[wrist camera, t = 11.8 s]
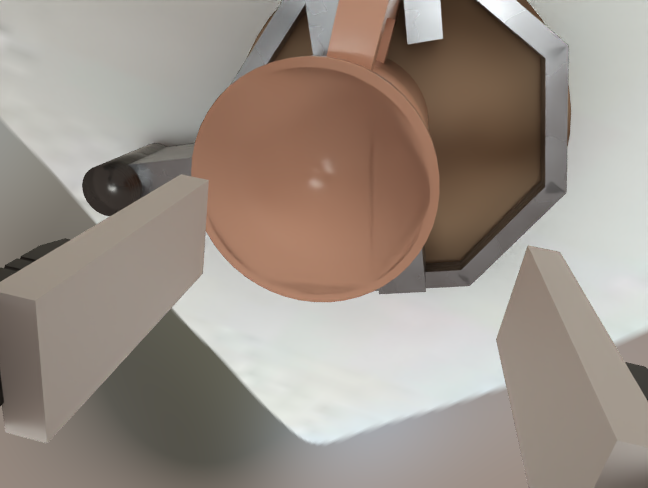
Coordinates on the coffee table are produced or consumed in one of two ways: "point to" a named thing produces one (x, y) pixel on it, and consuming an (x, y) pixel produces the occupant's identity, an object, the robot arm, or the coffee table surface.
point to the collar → (421, 25)
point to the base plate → (469, 117)
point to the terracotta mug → (322, 165)
